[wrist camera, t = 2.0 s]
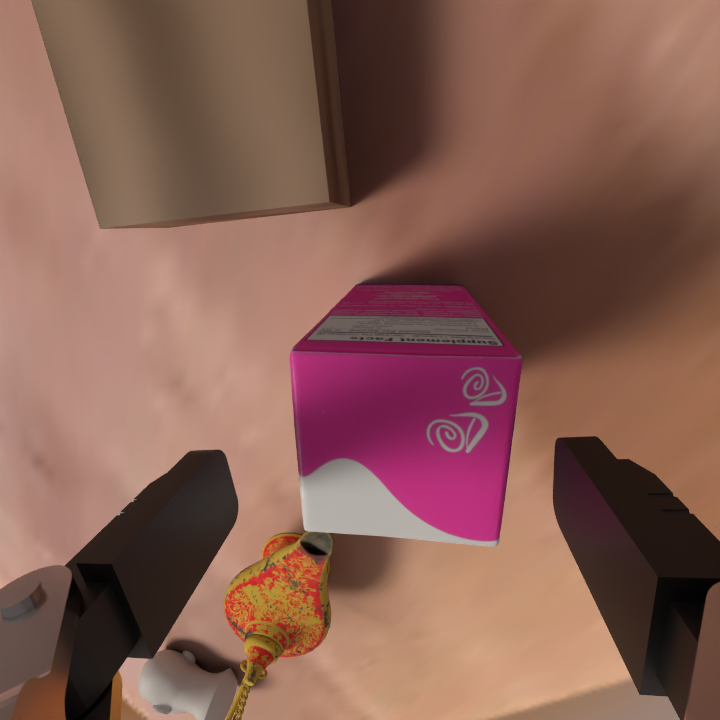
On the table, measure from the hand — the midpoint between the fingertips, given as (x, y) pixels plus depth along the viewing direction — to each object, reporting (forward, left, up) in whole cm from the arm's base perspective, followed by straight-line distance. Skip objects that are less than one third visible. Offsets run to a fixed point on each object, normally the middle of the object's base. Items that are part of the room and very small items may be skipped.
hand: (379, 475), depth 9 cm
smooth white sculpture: (+21, +29, -12) cm, 38 cm away
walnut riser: (+7, -12, -12) cm, 19 cm away
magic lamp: (+8, +15, -12) cm, 21 cm away
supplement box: (0, 0, -12) cm, 12 cm away
